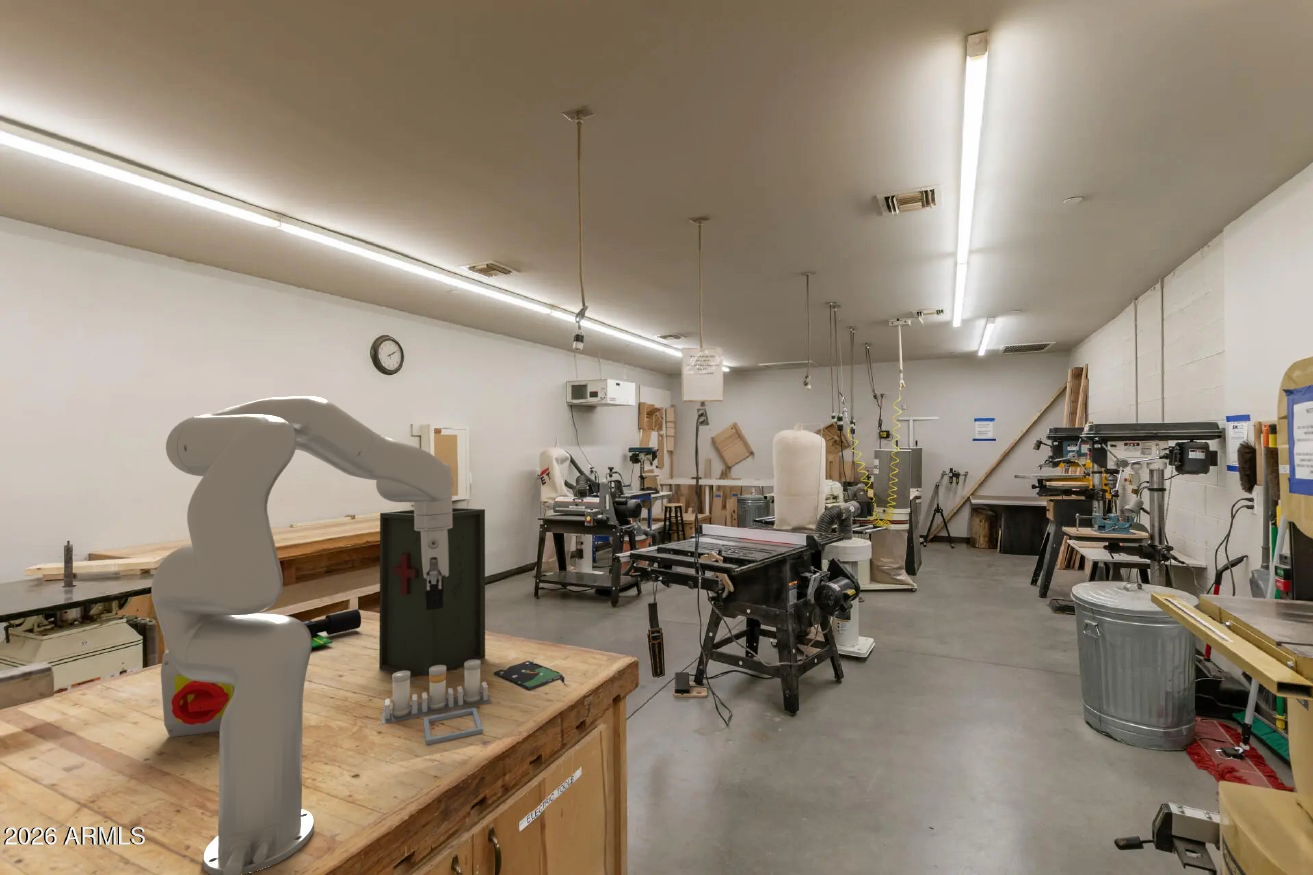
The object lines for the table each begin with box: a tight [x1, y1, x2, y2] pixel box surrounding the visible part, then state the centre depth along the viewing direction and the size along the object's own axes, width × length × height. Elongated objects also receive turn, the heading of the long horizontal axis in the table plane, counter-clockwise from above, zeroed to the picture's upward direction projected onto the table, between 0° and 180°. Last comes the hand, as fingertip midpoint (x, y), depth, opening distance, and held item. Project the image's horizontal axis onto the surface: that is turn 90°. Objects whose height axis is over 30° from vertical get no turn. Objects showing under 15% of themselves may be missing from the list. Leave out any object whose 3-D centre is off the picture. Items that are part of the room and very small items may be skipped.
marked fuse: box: [428, 665, 447, 710], centre depth 117 cm, size 3×3×8 cm
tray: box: [423, 707, 484, 746], centre depth 108 cm, size 10×10×2 cm
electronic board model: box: [300, 608, 362, 649], centre depth 162 cm, size 30×7×15 cm
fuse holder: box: [381, 681, 492, 725], centre depth 117 cm, size 7×21×4 cm, turn 115°
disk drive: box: [493, 660, 565, 691], centre depth 133 cm, size 10×3×15 cm
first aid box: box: [378, 507, 486, 679], centre depth 147 cm, size 18×18×40 cm
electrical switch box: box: [160, 649, 235, 738], centre depth 111 cm, size 15×15×20 cm
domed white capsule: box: [391, 671, 411, 717], centre depth 114 cm, size 3×3×8 cm
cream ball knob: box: [463, 660, 482, 703], centre depth 120 cm, size 3×3×8 cm
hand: (435, 602), depth 117 cm, fingers open, 9 cm apart
